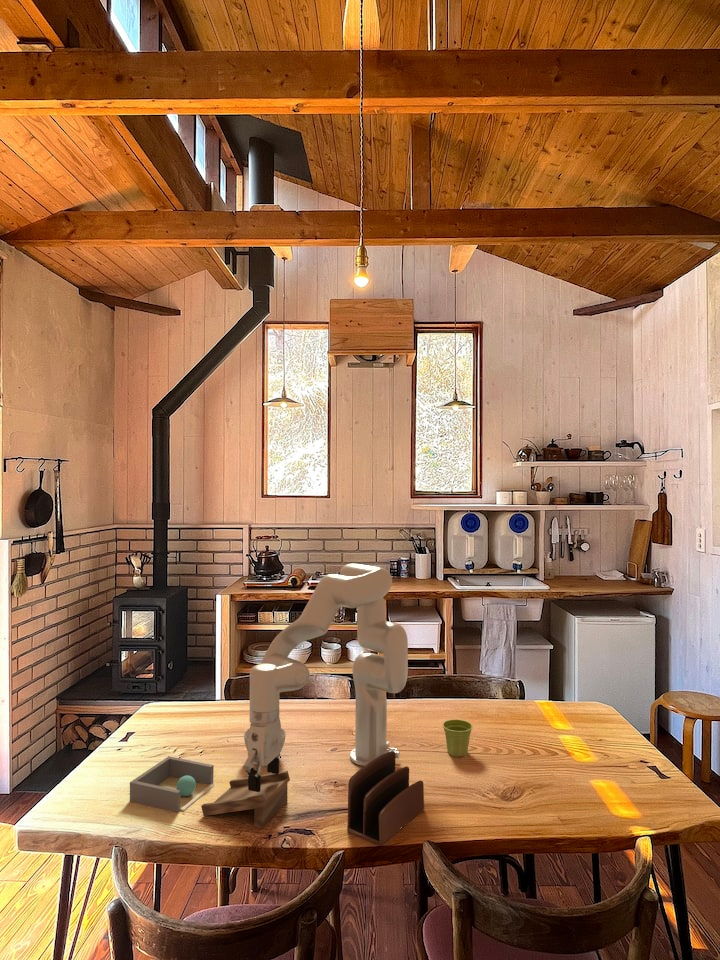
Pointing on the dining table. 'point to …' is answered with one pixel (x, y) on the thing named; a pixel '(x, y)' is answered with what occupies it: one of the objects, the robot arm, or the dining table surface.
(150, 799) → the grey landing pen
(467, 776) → the dining table surface
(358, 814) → the letter holder
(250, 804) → the walnut ramp
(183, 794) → the teal rubber ball
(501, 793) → the dining table surface
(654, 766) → the dining table surface
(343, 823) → the dining table surface
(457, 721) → the plant pot
